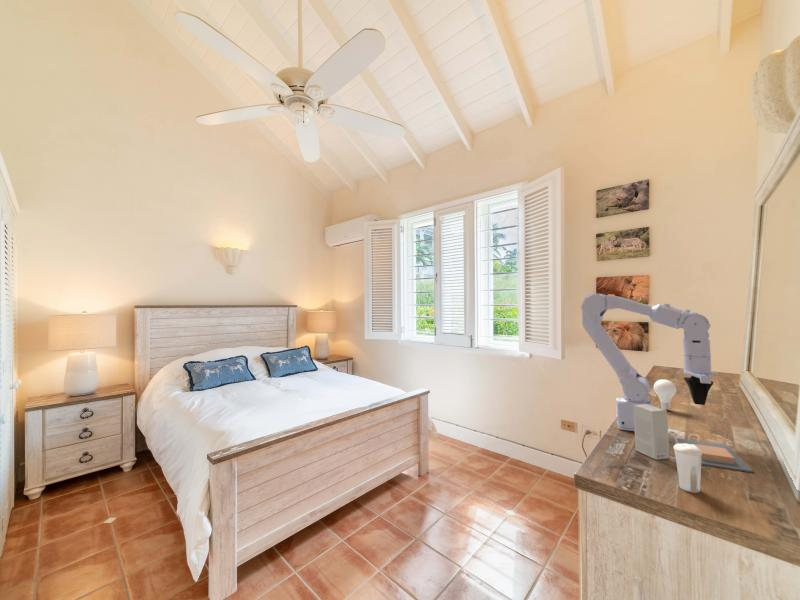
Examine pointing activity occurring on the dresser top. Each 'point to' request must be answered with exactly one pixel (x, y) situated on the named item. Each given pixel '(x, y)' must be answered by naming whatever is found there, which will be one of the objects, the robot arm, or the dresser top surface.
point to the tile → (716, 454)
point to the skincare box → (651, 431)
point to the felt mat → (739, 463)
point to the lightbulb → (665, 392)
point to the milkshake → (688, 466)
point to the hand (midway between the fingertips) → (699, 404)
